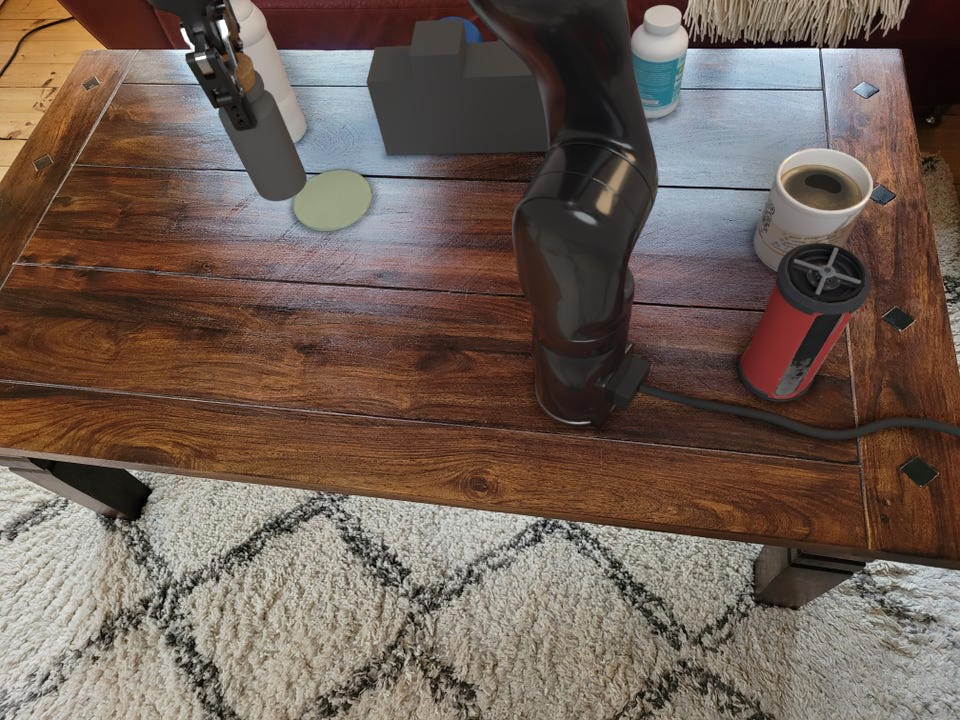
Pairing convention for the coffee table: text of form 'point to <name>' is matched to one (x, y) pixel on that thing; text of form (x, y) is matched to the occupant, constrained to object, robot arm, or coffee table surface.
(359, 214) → the coaster
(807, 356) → the speaker
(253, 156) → the bottle
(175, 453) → the coffee table surface
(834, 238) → the mug
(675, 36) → the pill bottle
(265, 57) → the water bottle
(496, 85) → the camera
